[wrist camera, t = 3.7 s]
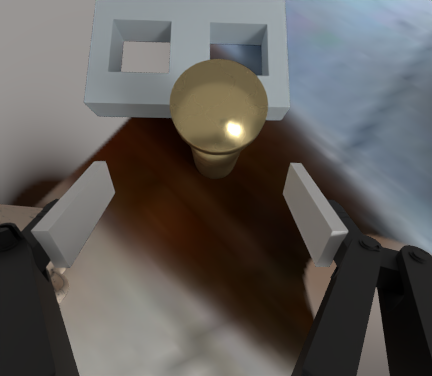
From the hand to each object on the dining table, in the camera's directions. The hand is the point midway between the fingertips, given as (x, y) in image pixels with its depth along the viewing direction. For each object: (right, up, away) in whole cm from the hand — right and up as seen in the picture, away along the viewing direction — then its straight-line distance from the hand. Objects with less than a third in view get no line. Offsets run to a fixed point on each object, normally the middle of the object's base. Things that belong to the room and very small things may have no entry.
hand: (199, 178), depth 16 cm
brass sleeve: (+1, +3, +10) cm, 10 cm away
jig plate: (-2, +15, +11) cm, 19 cm away
